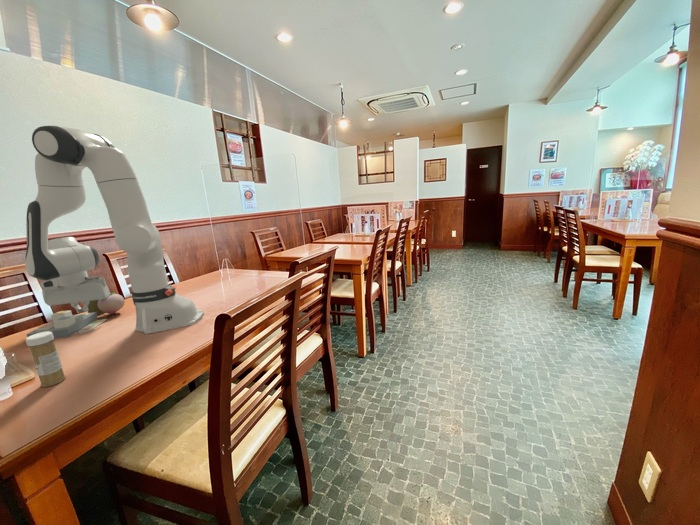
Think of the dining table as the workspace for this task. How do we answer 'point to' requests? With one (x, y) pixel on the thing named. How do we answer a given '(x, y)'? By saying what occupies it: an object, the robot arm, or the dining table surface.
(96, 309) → the olive green cup
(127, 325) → the dining table surface
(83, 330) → the strip
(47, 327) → the key
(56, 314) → the key
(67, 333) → the keypad board
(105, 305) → the decorative fruit
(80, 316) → the key
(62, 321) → the key
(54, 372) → the sprinkles bottle
